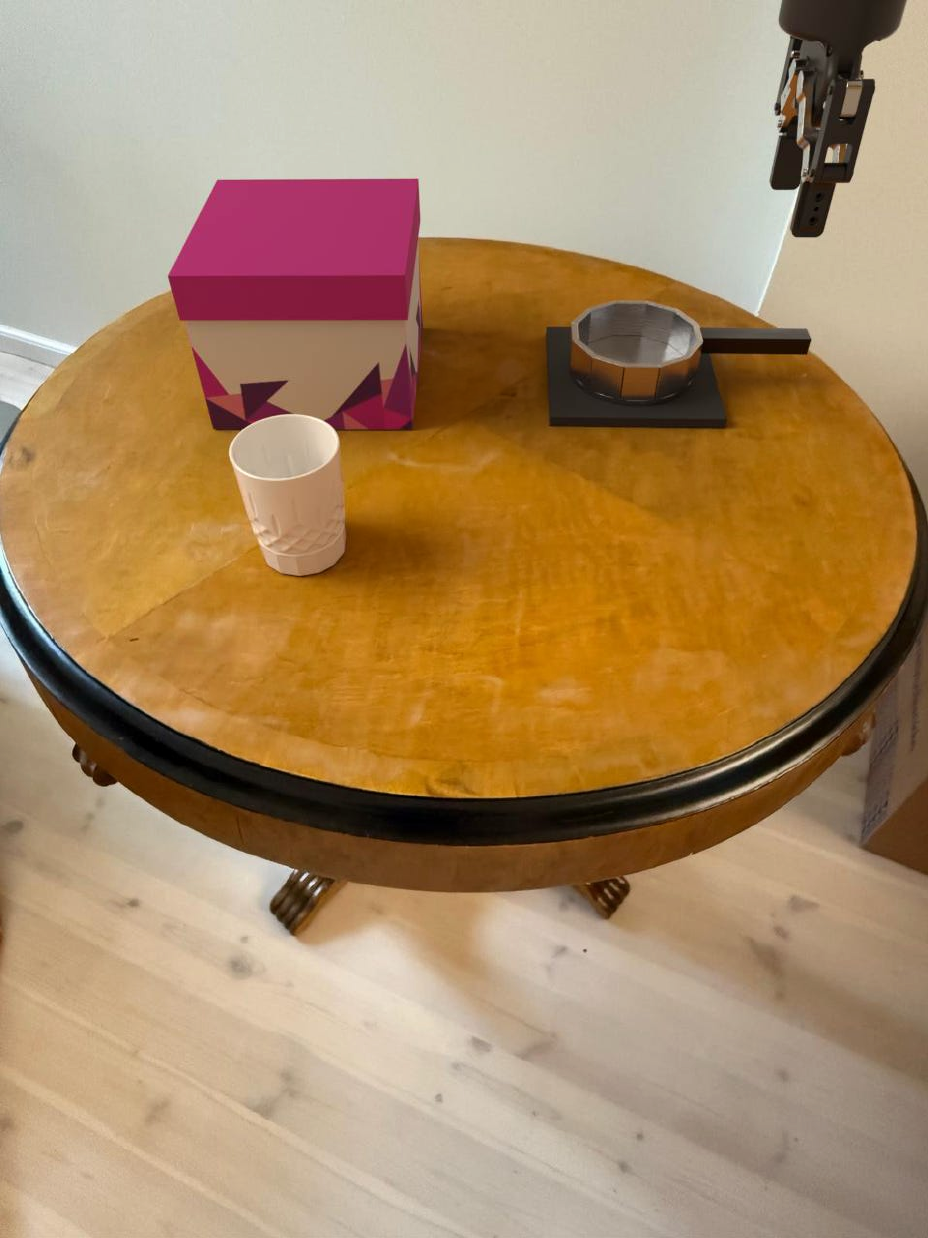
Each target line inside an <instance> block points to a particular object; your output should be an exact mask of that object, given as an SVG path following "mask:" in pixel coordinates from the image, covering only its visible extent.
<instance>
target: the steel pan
mask: <svg viewBox="0 0 928 1238" xmlns="http://www.w3.org/2000/svg"><path fill="white" fill-rule="evenodd" d="M570 327H571V333H570V345H569V373H570V376H571V378H572V380H573V381H574V383H575V384H576V385H577V386H578V387H579V388H580V389H582V390H583V391H584V392H586V393H588V394H589V395H591V396H593V397H595V398H598V399H600V400H603V401H606V402H610V403H614V404H619V405H627V406H647V405H655V404H661V403H664V402H668V401H670V400H673V399H675V398H677V397H679V396H681V395H682V394H683V393H685V392H686V391H687V390H688V389H689V387H690V386H691V384H692V382H693V379H694V377H695V376H696V374H697V369H698V364H699V359H700V354H701V353H702V354H710V355H711V354H714V355H716V354H717V355H794V356H795V355H797V356H798V355H799V356H800V355H801V356H805V355H806V356H807V355H808V353H809V349H810V347H811V344H812V340H813V339H812V337H811V334H810V333H809V332H810V331H809V329H808V328H806V327H805V328H803V327H802V328H799V327H798V328H797V327H796V328H793V327H791V328H790V327H707V326H705V327H704V326H703V327H700V325H699V323H698V322H696V321H695V320H694V319H692V318H691V317H690V316H688V315H687V314H685V313H684V312H683V311H681V310H680V309H678V308H675V307H672V306H669V305H665V304H661V303H658V302H654V301H651V300H631V299H630V300H629V299H628V300H622V299H621V300H618V299H617V300H616V299H615V300H611V301H606V302H603V303H600V304H596V305H594V306H593V305H592V306H589V307H587V308H585V309H583V311H582V312H581V313H579V315H578V316H577V317H576V318H575V319H573V321H572V322H571V324H570Z"/></svg>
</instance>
